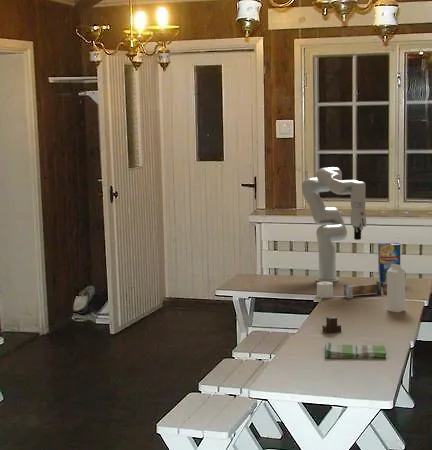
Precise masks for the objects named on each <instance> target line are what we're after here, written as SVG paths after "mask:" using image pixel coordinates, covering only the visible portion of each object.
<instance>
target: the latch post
mask: <svg viewBox="0 0 432 450" xmlns="http://www.w3.org/2000/svg"><path fill="white" fill-rule="evenodd" d="M352 286H353V285H348V286H346V296H345V297H346V299H349V300H350V299H353V298H354V295H353V287H352Z"/></svg>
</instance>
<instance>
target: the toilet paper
mask: <svg viewBox="0 0 432 450" xmlns="http://www.w3.org/2000/svg"><path fill="white" fill-rule="evenodd" d="M316 297H317V298H321V299H328V298H333V297H334V282H319V281H317V283H316Z"/></svg>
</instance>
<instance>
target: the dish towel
mask: <svg viewBox="0 0 432 450" xmlns="http://www.w3.org/2000/svg"><path fill="white" fill-rule="evenodd" d="M386 356H387V353H386V349H385V345H384V344H382V345H381V344H378V345H377V344H375V345H374V344H362V345H361V344H337V343H331V342H330V341H329V342H325V346H324V357H325V359H342V360H343V359H345V360H347V359H348V360H350V359H351V360H352V359H353V360H354V359H356V360H357V359H359V360H360V359H361V360H386V359H387V357H386Z"/></svg>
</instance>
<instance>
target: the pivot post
mask: <svg viewBox="0 0 432 450" xmlns="http://www.w3.org/2000/svg"><path fill="white" fill-rule="evenodd" d="M375 284H376V285H377V293H375V294H376V295H382V285H381V281H379V280H377V281H376V283H375Z"/></svg>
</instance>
